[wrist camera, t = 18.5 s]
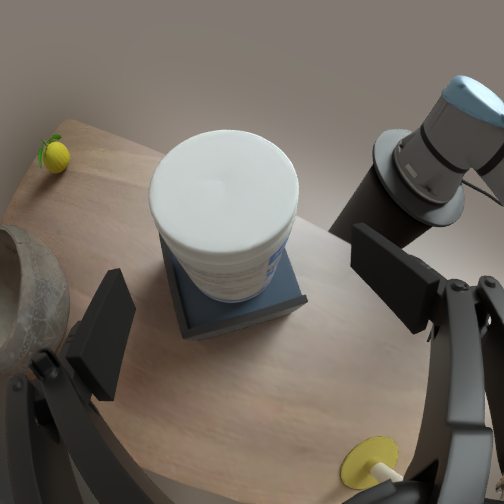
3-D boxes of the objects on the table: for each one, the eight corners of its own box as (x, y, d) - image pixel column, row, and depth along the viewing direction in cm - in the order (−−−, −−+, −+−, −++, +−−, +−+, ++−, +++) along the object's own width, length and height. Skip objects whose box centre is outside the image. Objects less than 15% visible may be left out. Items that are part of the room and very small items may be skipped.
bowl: (39, 234, 38) (-11, 196, 24) (112, 288, 36) (52, 255, 22) (-2, 328, 31) (-57, 313, 17) (63, 400, 29) (-1, 411, 15)
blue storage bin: (262, 227, 40) (267, 192, 31) (291, 312, 36) (308, 301, 27) (175, 251, 38) (156, 222, 29) (198, 340, 34) (182, 339, 25)
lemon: (58, 187, 41) (32, 158, 32) (49, 174, 42) (25, 146, 33) (82, 163, 43) (59, 131, 34) (71, 152, 44) (50, 121, 35)
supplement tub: (282, 297, 28) (320, 250, 14) (192, 308, 27) (143, 271, 14) (267, 215, 31) (285, 122, 17) (186, 224, 31) (150, 136, 17)
